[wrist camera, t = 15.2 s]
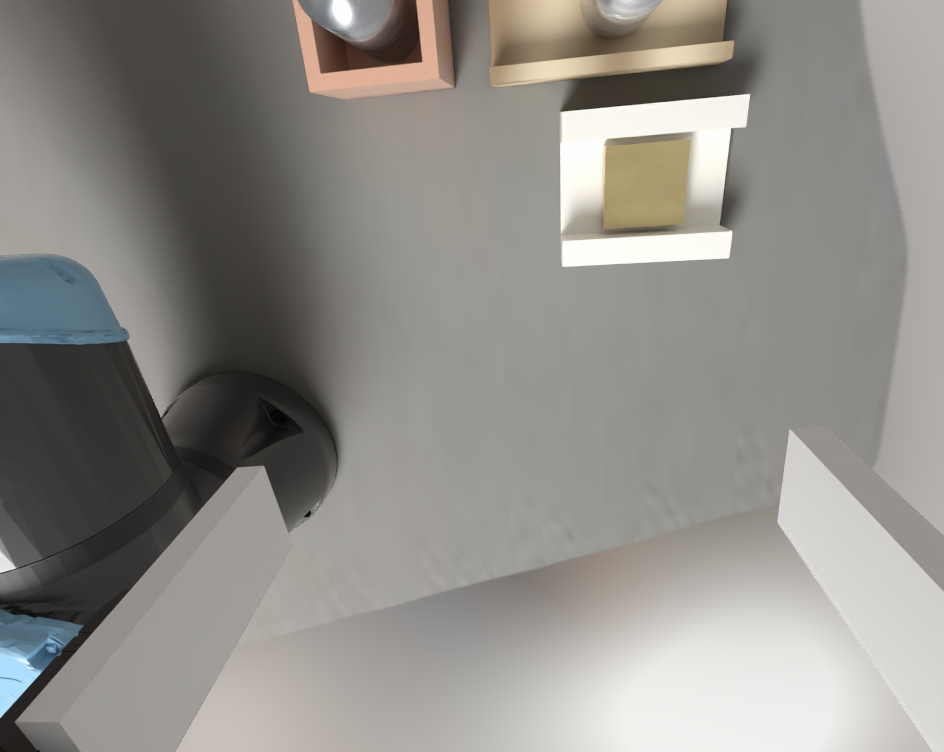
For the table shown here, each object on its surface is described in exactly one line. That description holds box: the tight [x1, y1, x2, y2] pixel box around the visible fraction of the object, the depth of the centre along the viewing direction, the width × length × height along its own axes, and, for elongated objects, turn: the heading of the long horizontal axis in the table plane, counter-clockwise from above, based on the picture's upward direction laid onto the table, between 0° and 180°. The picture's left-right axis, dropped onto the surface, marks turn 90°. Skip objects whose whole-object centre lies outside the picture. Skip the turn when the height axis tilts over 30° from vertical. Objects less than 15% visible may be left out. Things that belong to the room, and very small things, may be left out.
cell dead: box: [297, 0, 420, 63], centre depth 26 cm, size 4×4×9 cm
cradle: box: [560, 94, 750, 267], centre depth 31 cm, size 10×9×3 cm
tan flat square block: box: [601, 139, 691, 229], centre depth 31 cm, size 5×5×1 cm
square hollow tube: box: [293, 0, 455, 99], centre depth 28 cm, size 7×7×6 cm
